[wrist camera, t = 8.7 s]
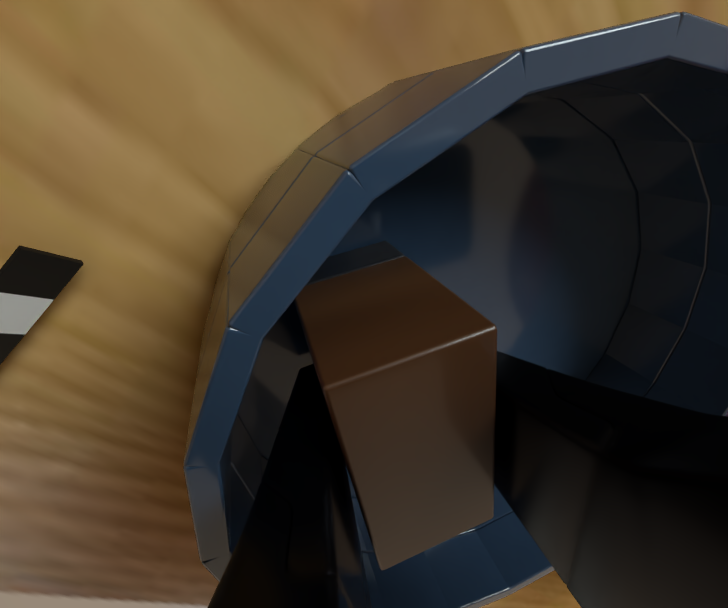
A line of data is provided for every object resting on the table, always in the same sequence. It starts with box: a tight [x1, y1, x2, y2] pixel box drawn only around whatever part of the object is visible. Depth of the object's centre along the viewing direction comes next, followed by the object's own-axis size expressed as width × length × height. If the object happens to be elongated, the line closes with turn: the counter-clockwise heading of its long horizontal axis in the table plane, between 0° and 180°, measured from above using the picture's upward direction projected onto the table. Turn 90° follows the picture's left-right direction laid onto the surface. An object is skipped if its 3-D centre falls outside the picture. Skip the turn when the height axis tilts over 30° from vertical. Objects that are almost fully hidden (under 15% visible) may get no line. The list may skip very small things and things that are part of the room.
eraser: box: [294, 241, 497, 570], centre depth 8 cm, size 5×3×4 cm, turn 11°
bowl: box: [183, 12, 728, 608], centre depth 10 cm, size 15×15×4 cm
